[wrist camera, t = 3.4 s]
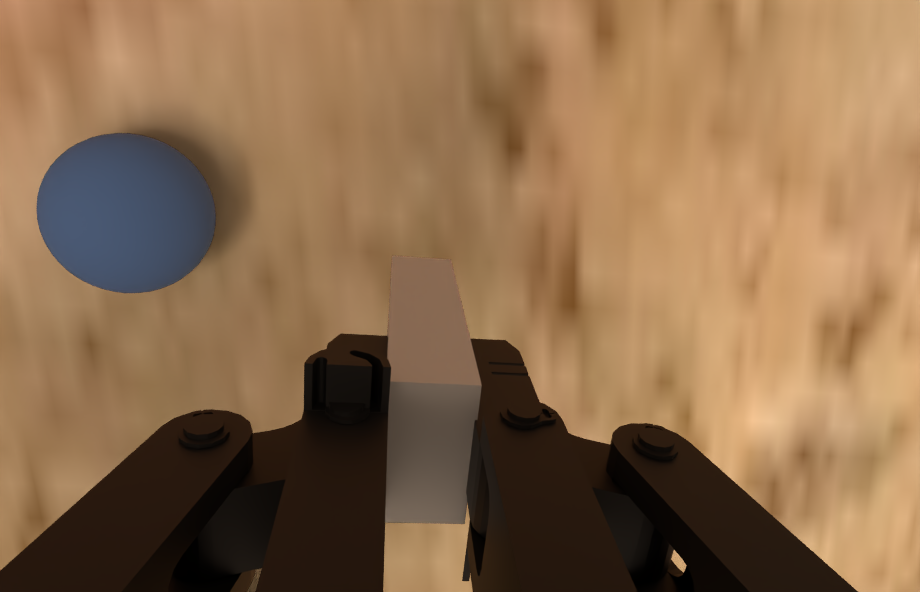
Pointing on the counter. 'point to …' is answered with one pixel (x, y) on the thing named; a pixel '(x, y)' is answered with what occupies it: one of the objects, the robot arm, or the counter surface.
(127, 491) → the robot arm
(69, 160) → the ball
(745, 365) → the counter surface
